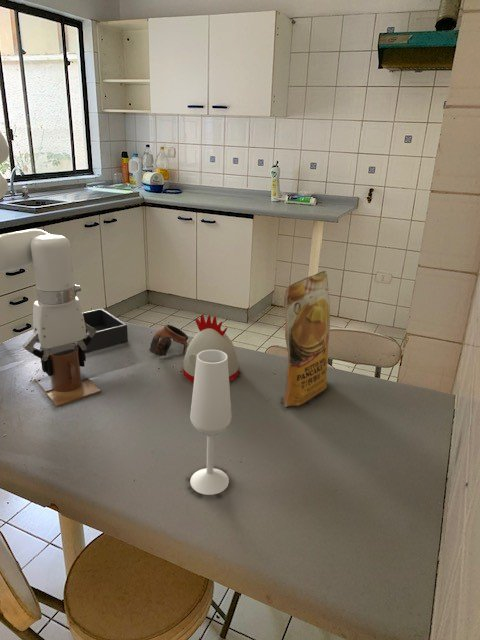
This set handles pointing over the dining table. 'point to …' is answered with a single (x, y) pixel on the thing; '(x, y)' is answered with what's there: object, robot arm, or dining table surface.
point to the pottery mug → (167, 339)
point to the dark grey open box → (104, 330)
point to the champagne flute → (210, 414)
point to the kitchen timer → (210, 347)
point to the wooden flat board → (72, 393)
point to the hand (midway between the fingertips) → (64, 368)
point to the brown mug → (65, 368)
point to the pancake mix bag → (306, 338)
